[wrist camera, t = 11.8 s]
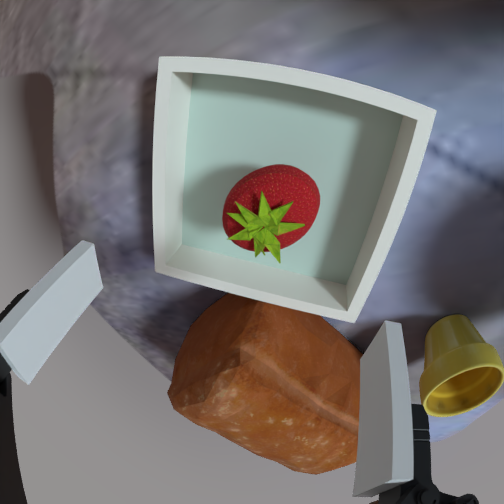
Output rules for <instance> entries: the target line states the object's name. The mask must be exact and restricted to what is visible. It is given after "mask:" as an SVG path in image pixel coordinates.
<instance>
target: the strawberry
mask: <svg viewBox="0 0 504 504" xmlns="http://www.w3.org/2000/svg"><path fill="white" fill-rule="evenodd" d="M319 207H320V193H319V189H318V187H317V185H316V183H315V181H314V180H313V179H312V178H311V177H310V176H309V175H308V174H307V173H305V172H304V171H302V170H300V169H299V168H296V167H294V166H291V165H285V164H274V165H269V166H266V167H263V168H260V169H258V170H255V171H253V172H251V173H249V174H247V175H246V176H244V177H243V178H242V179H241V180H239V181H238V182H237V183H236V184H235V185H234V187H233V188H232V189H231V190H230V192H229V194H228V195H227V197H226V200H225V203H224V208H223V216H222V222H223V228H224V230H225V233H226V235H227V236H228V239H226V240H231V241H232V242H233V243H234V244H236V245H237V246H239V247H241V248H243V249H246V250H248V251H254V252H255V257H257V256H258V255H259V254H260V252H262V253H263V255H264V256H265V253H264V252H271V253H272V255H273V256H274V257H275V258H276V260H277V261H278V262H279V263H281V257H280V249H283V248H286V247H288V246H290V245H292V244H294V243H295V242H297V241H298V240H300V239H301V238H302V237H303V236H304V235H305V234H306V233H307V232H308V230H309V229H310V228H311V226H312V225H313V223H314V221H315V219H316V216H317V214H318V210H319Z"/></svg>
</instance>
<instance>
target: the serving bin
mask: <svg viewBox="0 0 504 504" xmlns="http://www.w3.org/2000/svg"><path fill="white" fill-rule="evenodd" d="M436 111H437V110H434V109H432V108H429V107H427V106H424V105H422V104H419V103H417V102H414V101H412V100H409V99H406V98H403V97H401V96H398V95H395V94H392V93H389V92H386V91H383V90H380V89H376V88H373V87H370V86H367V85H363V84H360V83H356V82H353V81H349V80H345V79H341V78H337V77H333V76H329V75H325V74H320V73H316V72H311V71H306V70H301V69H296V68H290V67H285V66H279V65H272V64H265V63H258V62H250V61H241V60H231V59H219V58H204V57H159V65H158V76H157V87H156V100H155V115H154V135H153V177H152V196H153V238H154V259H155V272H158V273H161V274H164V275H168V276H171V277H175V278H178V279H182V280H185V281H189V282H192V283H196V284H199V285H203V286H206V287H210V288H214V289H217V290H221V291H225V292H228V293H232V294H236V295H240V296H244V297H247V298H251V299H255V300H259V301H263V302H267V303H271V304H275V305H279V306H283V307H287V308H291V309H295V310H299V311H303V312H308V313H312V314H316V315H321V316H325V317H329V318H334V319H338V320H343V321H347V322H352V323H355V321H356V319H357V317H358V315H359V313H360V311H361V309H362V307H363V305H364V303H365V301H366V299H367V297H368V295H369V293H370V291H371V289H372V287H373V285H374V283H375V281H376V278H377V276H378V274H379V272H380V270H381V267H382V265H383V263H384V261H385V258H386V256H387V254H388V252H389V249H390V247H391V244H392V242H393V240H394V237H395V235H396V232H397V230H398V227H399V225H400V222H401V220H402V217H403V215H404V212H405V209H406V207H407V204H408V201H409V199H410V196H411V193H412V190H413V187H414V184H415V182H416V179H417V176H418V173H419V170H420V167H421V163H422V160H423V157H424V154H425V151H426V147H427V144H428V140H429V137H430V133H431V130H432V126H433V122H434V119H435V115H436ZM274 164H285V165H291V166H294V167H296V168H299V169H300V170H302V171H304V172H305V173H307V174H308V175H309V176H310V177H311V178H312V179H313V180H314V181H315V183H316V185H317V187H318V189H319V193H320V207H319V210H318V214H317V216H316V219H315V221H314V223H313V225H312V226H311V228H310V229H309V230H308V232H307V233H306V234H305V235H304V236H303V237H302V238H301V239H300V240H298V241H297V242H295V243H294V244H292V245H290V246H288V247H286V248H283V249H280V257H281V263H279V262H278V261H277V260H276V258H275V257H274V256H273V255H272V253H271V252H264V253H265V256H264V255H263V253H262V252H260V254H259V255H258V256H257V257H255V252H254V251H248V250H246V249H243V248H241V247H239V246H237V245H236V244H234V243H233V242H232V241H231V240H226V239H228V236H227V235H226V233H225V230H224V228H223V222H222V216H223V208H224V203H225V200H226V197H227V195H228V194H229V192H230V190H231V189H232V188H233V187H234V185H235V184H236V183H237V182H238V181H239V180H241V179H242V178H243V177H244V176H246V175H247V174H249V173H251V172H253V171H255V170H258V169H260V168H263V167H266V166H269V165H274Z"/></svg>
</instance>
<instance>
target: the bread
mask: <svg viewBox="0 0 504 504" xmlns="http://www.w3.org/2000/svg"><path fill="white" fill-rule="evenodd" d="M362 356H363V354H362V353H361V352H360V351H359V350H358V349H357V348H356V347H355V346H354V345H352V344H351V343H350V342H349V341H348V340H347V339H346V338H345V337H344V336H343V335H342V334H341V333H340V332H338V331H337V330H336V329H335V328H334V327H333V326H331V325H330V324H329V323H328V322H327V321H325V320H324V319H323V318H322V317H321V316H320V315H316V314H312V313H308V312H303V311H299V310H295V309H291V308H287V307H283V306H279V305H275V304H271V303H267V302H263V301H259V300H255V299H251V298H247V297H244V296H240V295H236V294H232V293H227V294H226V295H224V296H223V297H222V298H220V299H219V300H218V301H216V302H215V303H214V304H212V305H211V306H210V307H208V308H207V309H206V310H205V311H204V312H203V313H202V314H201V315H200V316H199V317H198V318H197V320H196V321H195V322H194V323H193V324H192V325H191V326H190V328H189V330H188V333H187V335H186V337H185V339H184V341H183V344H182V346H181V348H180V350H179V353H178V355H177V357H176V359H175V365H174V371H173V377H172V383H171V385H170V388H169V390H168V392H167V393H168V396H169V398H170V401H171V403H172V405H173V408H174V409H175V410H176V411H177V412H179V413H180V414H182V415H183V416H184V417H186V418H188V419H189V420H190V421H192V422H193V423H195V424H197V425H199V426H201V427H204V428H206V429H209V430H211V431H214V432H216V433H218V434H220V435H221V436H223V437H225V438H227V439H228V440H230V441H232V442H234V443H236V444H238V445H239V446H241V447H243V448H245V449H247V450H249V451H251V452H252V453H254V454H256V455H258V456H261V457H264V458H267V459H270V460H273V461H276V462H278V463H280V464H282V465H284V466H286V467H288V468H289V469H291V470H293V471H297V472H303V473H309V474H320V473H324V472H328V471H331V470H334V469H337V468H341V467H344V466H347V465H349V464H352V463H355V462H356V460H357V448H358V432H359V410H360V359H361V357H362Z"/></svg>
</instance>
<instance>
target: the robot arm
mask: <svg viewBox="0 0 504 504" xmlns="http://www.w3.org/2000/svg"><path fill="white" fill-rule="evenodd" d="M102 289H103V285H102V281H101V276H100V272H99V267H98V262H97V257H96V252H95V247H94V244H93V243H90V242H87V241H83V240H82V241H81V242H80V243H78V244H77V245H76V246H75V247H74V248H73V249H72V250H71V251H70V252H69V253H67V254H66V255H65V256H64V257H63V258H62V259H61V260H60V261H59V262H58V263H57V264H56V265H55V266H54V267H53V268H52V269H51V270H50V271H49V272H48V273H47V274H46V275H45V276H44V277H42V279H41V280H40V281H38V283H37V284H36V285H35V286H34V287H33V288H32V289H31V290H28V289H27V290H25V291H23V292H22V293H20V294H18V295H17V296H16V297H15V298H14V299H13V300H12V301H11V304H9V305H8V306H7V307H6V308H5V310H4V311H2V313H1V314H0V504H27V500H26V496H25V492H24V488H23V483H22V478H21V473H20V468H19V463H18V457H17V449H16V443H15V434H14V423H13V410H12V387H11V374H10V373H9V372H10V371H11V369H12V370H13V371H14V373H15V374H16V375H17V376H18V377H19V378H20V379H21V380H23V381H24V382H25V383H27V384H28V385H29V384H30V382H31V381H32V379H33V378H34V377H35V375H36V374H37V372H38V371H39V369H40V368H41V367H42V365H43V364H44V362H45V361H46V360H47V358H48V357H49V356H50V354H51V353H52V351H53V350H54V349H55V348H56V346H57V345H58V344H59V342H60V341H61V339H62V338H63V337H64V336H65V334H66V333H67V332H68V330H69V329H70V328H71V327H72V325H73V324H74V323H75V322H76V320H77V319H78V318H79V316H80V315H81V314H82V313H83V311H84V310H85V309H86V308H87V307H88V305H89V304H90V303H91V302H92V301H93V299H94V298H95V297H96V296H97V295H98V293H99V292H100V291H101V290H102ZM429 440H430V434H429V421H428V415H427V413H426V411H425V409H424V406H423V405H420V404H411V397H410V386H409V377H408V368H407V360H406V353H405V346H404V339H403V333H402V327H401V323H396V322H391V321H387V320H385V321H384V323H383V324H382V326H381V328H380V329H379V331H378V333H377V334H376V336H375V337H374V339H373V341H372V342H371V344H370V345H369V347H368V348H367V350H366V351H365V353H364V354H363V356H362V357H361V359H360V410H359V432H358V448H357V460H356V471H355V482H354V490H353V496H354V497H373V496H375V495H378V494H379V500H377V501H374V502H371V503H369V504H479V502H478V500H477V498H476V497H475V496H474V495H473V494H466V495H463V496H461V497H456V496H452V495H448V494H445V493H442V492H440V491H439V490H438V488H437V487H436V486H435V485H434V484H433V482H432V478H431V452H430V442H429Z"/></svg>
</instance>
